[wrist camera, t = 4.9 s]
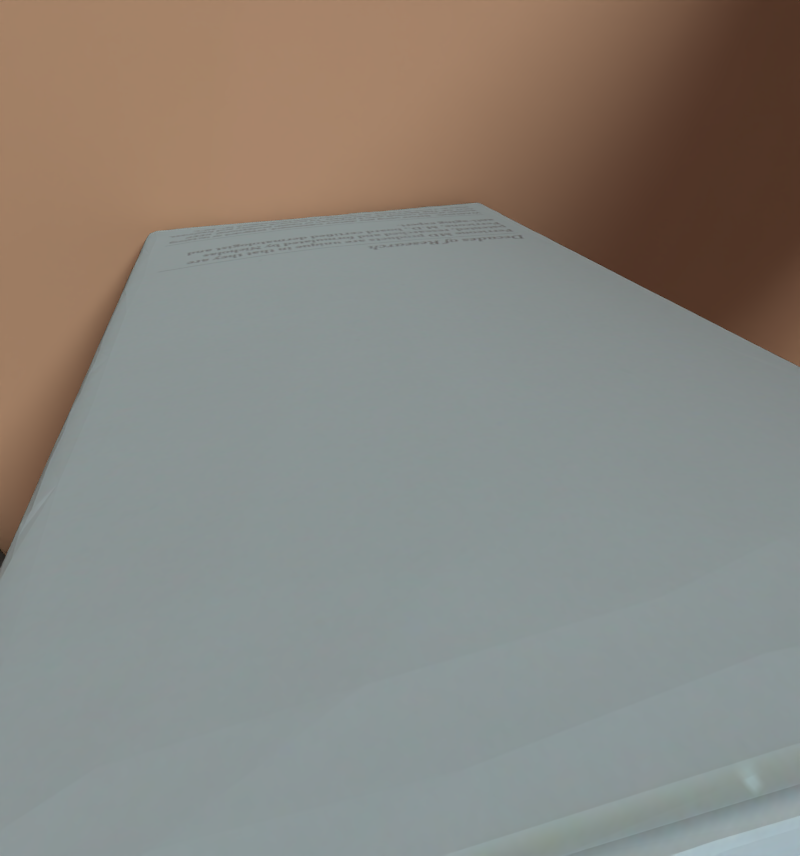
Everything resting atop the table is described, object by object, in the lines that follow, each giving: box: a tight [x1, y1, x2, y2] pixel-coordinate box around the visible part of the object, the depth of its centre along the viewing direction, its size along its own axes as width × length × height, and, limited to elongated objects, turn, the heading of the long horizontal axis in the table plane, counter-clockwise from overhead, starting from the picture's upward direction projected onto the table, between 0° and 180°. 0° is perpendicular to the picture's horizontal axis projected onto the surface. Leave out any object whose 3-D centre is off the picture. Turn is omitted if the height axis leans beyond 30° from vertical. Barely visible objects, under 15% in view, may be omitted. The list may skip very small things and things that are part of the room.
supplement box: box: [0, 203, 800, 856], centre depth 9 cm, size 7×7×13 cm
